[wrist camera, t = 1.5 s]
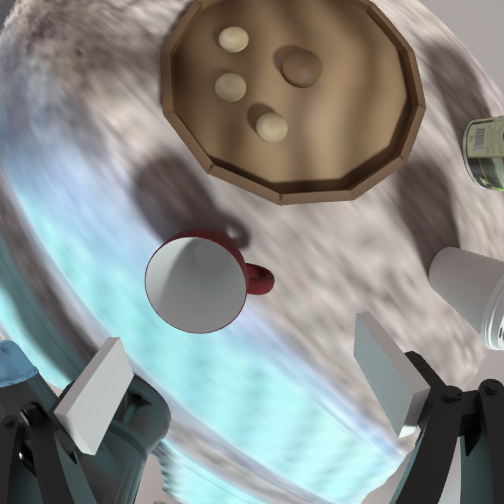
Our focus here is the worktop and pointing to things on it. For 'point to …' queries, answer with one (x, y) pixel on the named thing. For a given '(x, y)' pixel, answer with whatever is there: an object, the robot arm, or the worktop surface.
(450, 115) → the worktop surface
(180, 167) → the worktop surface
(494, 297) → the coffee cup
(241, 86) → the bead
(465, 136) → the coffee can
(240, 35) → the bead
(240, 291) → the mug
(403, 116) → the ring tray
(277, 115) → the bead
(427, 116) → the worktop surface
